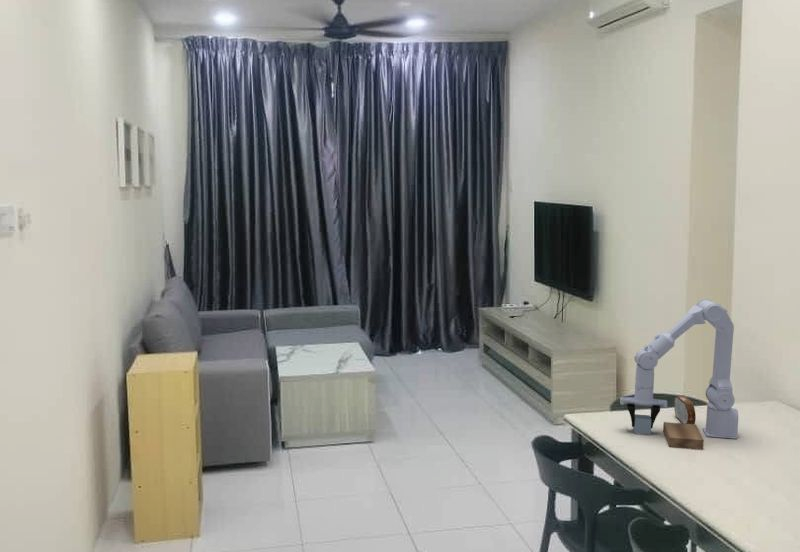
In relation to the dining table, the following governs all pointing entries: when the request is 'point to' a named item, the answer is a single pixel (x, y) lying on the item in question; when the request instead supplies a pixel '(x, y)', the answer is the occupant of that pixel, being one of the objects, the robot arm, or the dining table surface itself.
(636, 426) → the block
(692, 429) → the plinth
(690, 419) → the tin
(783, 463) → the dining table surface
